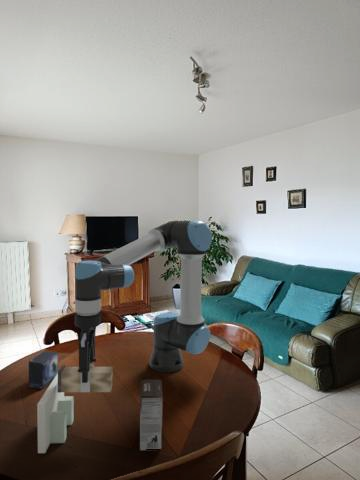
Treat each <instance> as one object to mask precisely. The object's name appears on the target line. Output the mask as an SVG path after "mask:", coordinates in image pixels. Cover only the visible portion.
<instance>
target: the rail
mask: <svg viewBox="0 0 360 480" xmlns="http://www.w3.org/2000/svg"><path fill="white" fill-rule="evenodd" d="M78 369H79V366H66V365H65V364H62V365H61V366H60V367H59V368H58V393H60V392H64V393H81V392H80V390H81V373H79V372H78ZM113 374H114V367H113V366H94V367H90V392H89V393H111V392H112V387H113V384H114V383H113V378H114V377H113V376H114V375H113Z"/></svg>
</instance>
